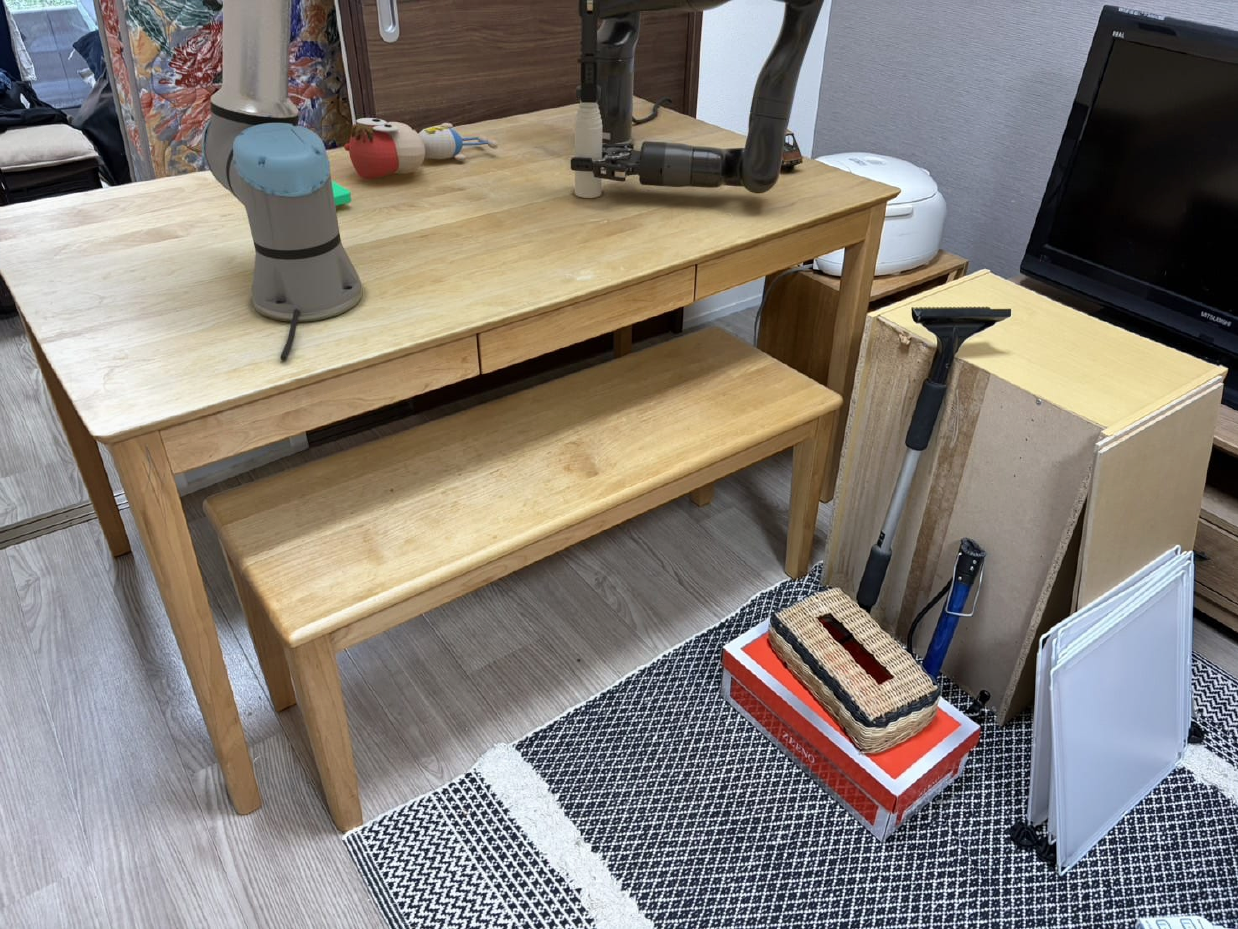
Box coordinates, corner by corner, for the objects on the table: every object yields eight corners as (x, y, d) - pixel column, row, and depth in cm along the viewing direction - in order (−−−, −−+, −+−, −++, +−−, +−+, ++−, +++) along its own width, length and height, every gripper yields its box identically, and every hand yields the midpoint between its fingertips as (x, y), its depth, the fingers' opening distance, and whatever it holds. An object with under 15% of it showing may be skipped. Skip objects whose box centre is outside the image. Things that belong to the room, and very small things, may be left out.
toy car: (763, 152, 192) (768, 117, 188) (807, 168, 184) (812, 133, 180) (742, 157, 188) (745, 123, 184) (785, 174, 181) (790, 139, 177)
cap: (583, 102, 158) (583, 91, 157) (571, 95, 161) (571, 85, 160) (605, 99, 160) (605, 88, 159) (593, 92, 163) (593, 82, 162)
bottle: (582, 199, 168) (582, 94, 157) (570, 191, 172) (569, 87, 161) (606, 195, 170) (607, 91, 159) (593, 186, 174) (594, 84, 163)
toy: (513, 124, 177) (360, 128, 162) (513, 178, 182) (363, 187, 167) (473, 109, 190) (327, 111, 175) (473, 159, 195) (331, 166, 180)
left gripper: (566, -64, 154) (567, 84, 168) (565, -47, 140) (566, 112, 154) (611, -63, 154) (608, 84, 168) (615, -46, 140) (611, 112, 154)
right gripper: (671, 131, 170) (579, 125, 171) (665, 156, 158) (566, 150, 160) (668, 171, 174) (579, 165, 175) (662, 199, 163) (567, 192, 164)
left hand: (588, 97), depth 161 cm, fingers closed on cap, 4 cm apart
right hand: (574, 158), depth 168 cm, fingers closed on bottle, 5 cm apart
